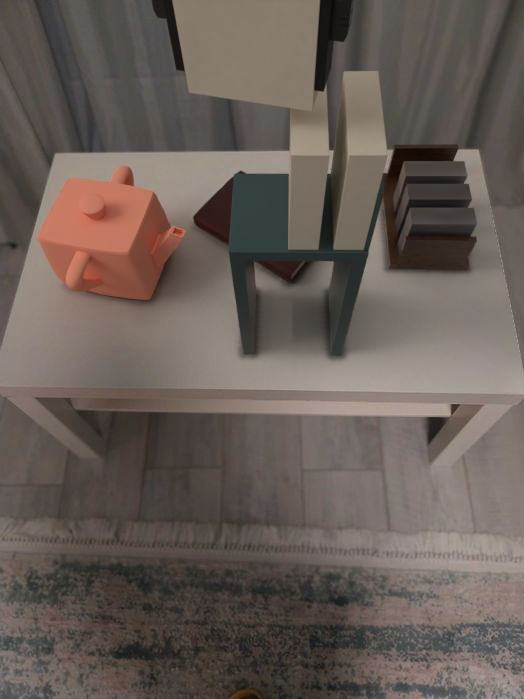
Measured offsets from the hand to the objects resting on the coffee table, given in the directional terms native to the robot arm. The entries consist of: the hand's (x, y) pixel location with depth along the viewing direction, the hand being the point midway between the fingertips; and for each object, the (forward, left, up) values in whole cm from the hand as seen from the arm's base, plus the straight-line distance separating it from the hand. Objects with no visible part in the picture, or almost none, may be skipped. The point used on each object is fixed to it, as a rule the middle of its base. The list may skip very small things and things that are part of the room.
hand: (253, 69), depth 38 cm
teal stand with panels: (-1, -4, -40) cm, 40 cm away
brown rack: (+9, -30, -40) cm, 51 cm away
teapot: (+17, +16, -40) cm, 46 cm away
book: (+16, -5, -40) cm, 43 cm away
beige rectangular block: (0, 0, -2) cm, 2 cm away
